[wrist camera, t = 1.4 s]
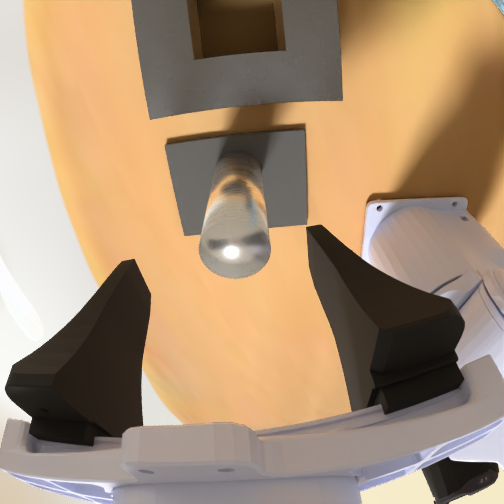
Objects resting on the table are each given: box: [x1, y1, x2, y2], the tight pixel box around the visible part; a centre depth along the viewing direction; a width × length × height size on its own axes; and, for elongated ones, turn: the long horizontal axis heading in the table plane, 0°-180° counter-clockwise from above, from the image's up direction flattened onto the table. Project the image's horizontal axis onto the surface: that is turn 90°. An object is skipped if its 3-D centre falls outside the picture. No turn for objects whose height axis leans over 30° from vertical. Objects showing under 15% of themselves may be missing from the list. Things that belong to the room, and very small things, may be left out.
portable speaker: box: [422, 457, 499, 504], centre depth 28 cm, size 9×9×20 cm
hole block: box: [131, 0, 343, 120], centre depth 14 cm, size 10×10×4 cm
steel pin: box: [199, 151, 271, 279], centre depth 17 cm, size 3×3×9 cm
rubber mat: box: [165, 129, 307, 236], centre depth 22 cm, size 9×7×1 cm
